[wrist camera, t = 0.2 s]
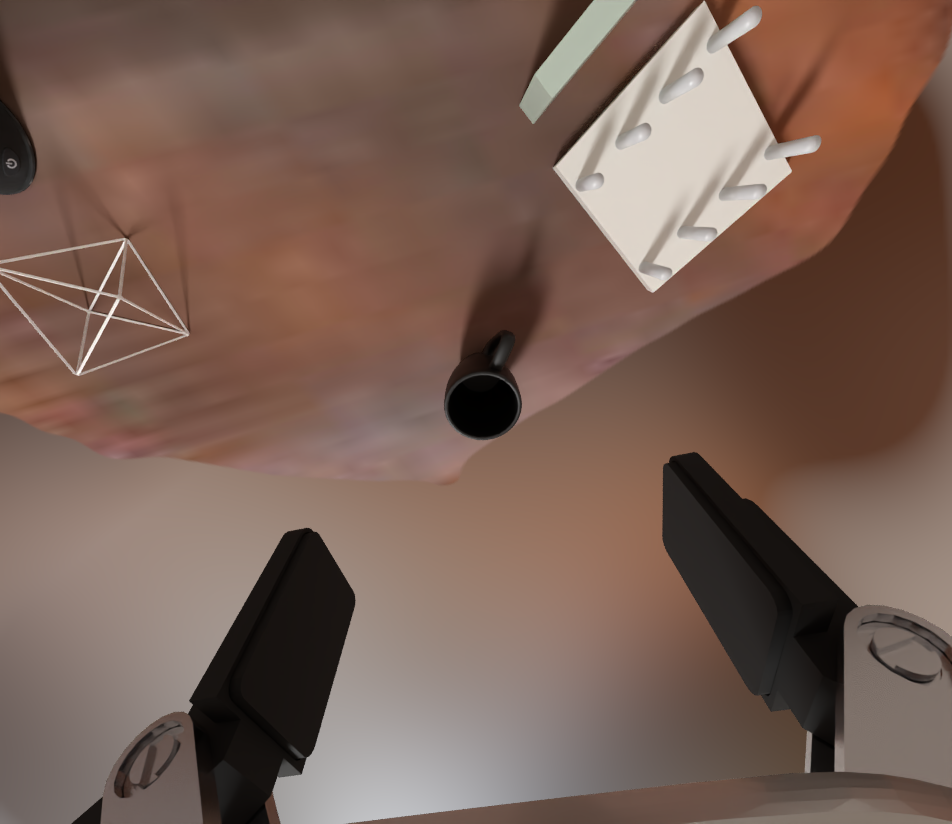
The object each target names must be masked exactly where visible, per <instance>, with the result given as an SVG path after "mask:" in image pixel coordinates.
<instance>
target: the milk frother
mask: <svg viewBox="0 0 952 824" xmlns="http://www.w3.org/2000/svg"><path fill="white" fill-rule="evenodd" d="M34 174H35V157H34V153H33V150H32V147H31V144H30V142H29V140H28V137H27V135H26V133H25V132H24V130H23V128H22V126H21V125H20V123H19V122H18V120H17V119H16V118H15V117H14V115H13V114H12V113H11V112H10V111H9V109H8V108H7V107H6V106H5V105H4V104H3V103H2V102H1V101H0V194H2V195H10V194H17V193H20V192H22V191H24V190H25V189H27V188H28V187H29V186H30V184H31V182H32V181H33V178H34Z"/></svg>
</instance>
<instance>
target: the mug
mask: <svg viewBox="0 0 952 824" xmlns="http://www.w3.org/2000/svg"><path fill="white" fill-rule="evenodd" d="M514 343H515V335H514V334H513V333H511V332H509V331H506V330H502V331H500V332H499V333H497V334H496V335H495V336H494V337H493V338H492V339H491V340H490V341H489V342H488V343H487V345H486V346H485V348H484V350H483V353H475V354H472V355H470V356H468V357H467V358H465V359H464V360H463V361H462V362H461V363H460V364H459V365H458V366H457V367H456V368H455V369H454V371H453V373H452V375H451V377H450V378H449V381H448V383H447V387H446V392H445V400H444V410H445V414H446V418H447V420H448V421H449V423H450V425H451V426H452V427H453V428H454V429H455V430H456V431H457V432H459V433H460V434H461V435H463V436H466V437H468V438H471V439H476V440H488V439H494V438H497V437H499V436H502V435H503V434H505V433H506V432H508V431H509V430H510V429H511V428H512V427H513V426H514V425H515V423H516V422H517V420H518V418H519V416H520V413H521V408H522V401H521V395H520V392H519V389H518V386H517V383H516V381H515V378H514V376H513V375H512V373H511V372H510V371H509V369H508V368H507V367H506V366H505V363H506V361H507V359H508V357H509V355H510V353H511V351H512V348H513V346H514Z"/></svg>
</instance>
